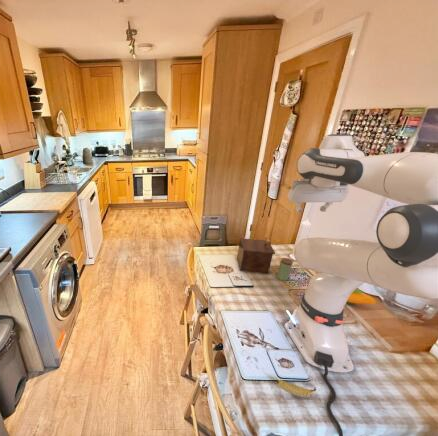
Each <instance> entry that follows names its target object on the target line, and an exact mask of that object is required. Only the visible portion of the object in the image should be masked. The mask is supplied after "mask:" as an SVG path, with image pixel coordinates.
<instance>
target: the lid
mask: <svg viewBox="0 0 438 436" xmlns="http://www.w3.org/2000/svg"><path fill="white" fill-rule="evenodd" d="M240 241H241V244H242V248H243V251H244V252H254V253H265V254H273V255H276V252H275V250H274V248H273V246H272V242H271V240H270V238H269V236H265V237H264V239H256V238H255V239H254V238H242V237H241V238H240V237H239V242H240Z"/></svg>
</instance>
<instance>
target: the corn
mask: <svg viewBox="0 0 438 436" xmlns="http://www.w3.org/2000/svg"><path fill="white" fill-rule="evenodd" d="M377 303H378V301H377V300H376V299H375V298H373V297H372V296H370V295H369V294H365V293H363V291H362V290H360V289H358V288H357V289H355V290H354V291H353V292H352V294H351V295H350V296H349V298H348V300H347V302H346V304H345V305H352V306H353V305H354V306H356V305H375V304H377Z"/></svg>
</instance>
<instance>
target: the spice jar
mask: <svg viewBox="0 0 438 436" xmlns="http://www.w3.org/2000/svg"><path fill="white" fill-rule="evenodd" d="M293 263H294V260H293V259H291V258H288V257H282V258H281V259H280V262H279V266H278V270H277V273H276V278H277V279H279V281H288V280H289V277H290V275H291V274H290V273H291V271H292V267H293Z"/></svg>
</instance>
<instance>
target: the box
mask: <svg viewBox="0 0 438 436" xmlns="http://www.w3.org/2000/svg"><path fill="white" fill-rule="evenodd" d="M273 255H274V254H265V253H254V252H244V251H243V248H242V244H241V241H240V240H239V243H238V249H237V255H236V259H237V263H238V268H239V271H240V272H249V273H257V274H267V275H269V272H270V268H271V263H272V260H273Z"/></svg>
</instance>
